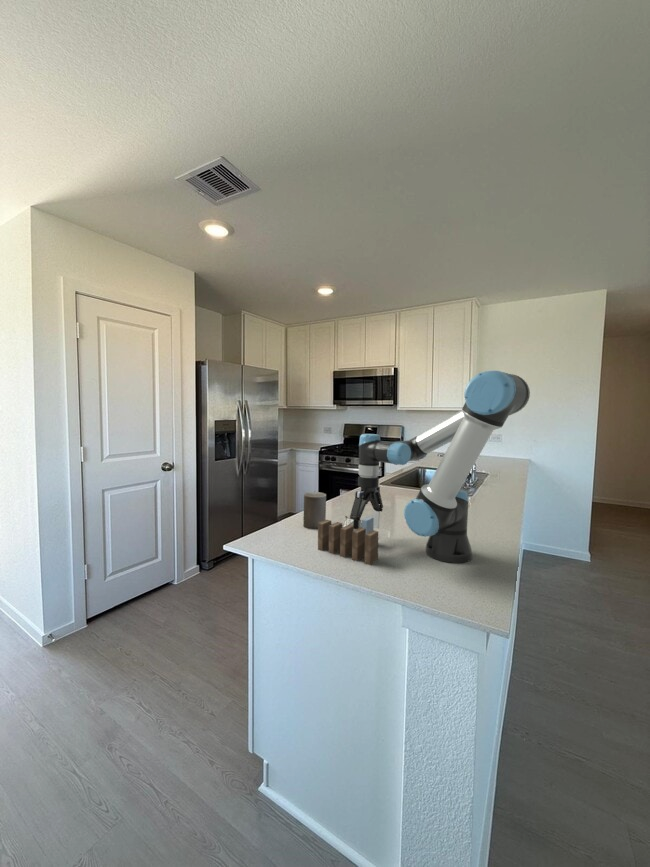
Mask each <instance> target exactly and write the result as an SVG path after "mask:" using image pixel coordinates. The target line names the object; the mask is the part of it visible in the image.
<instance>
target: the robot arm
mask: <svg viewBox="0 0 650 867" xmlns="http://www.w3.org/2000/svg"><path fill="white" fill-rule="evenodd" d="M530 395H531V392H530V388H529V385H528V383H527V382H526V381H525V379H523V378H522V377H520V376H519V375H516V374H513V373H512V374H511V373H508V372H504V371H500V370H487V371H482V372H479V373H478V374H476V375H474V376H473V377H472V378H471V379H470V380H469V381H468V383H467V384H466V386H465V389H464V396H463V397H464V400H465V403H464V404H463V406H462V408H461V409H460V410H458V411H457V412H455V413H454V414H452V415H450V416H448V417H447V418H445V419H443V420H441V421H440V422H439V423H437V424H435V425H433V426H432V427H430V428H428V429H426V430H425V431H423V432H421V433H419V434H417V436H414V437H413V438H411V439H409V440H399V441H398V440H397V441H396V440H395V441H386V440H385V441H384V440H381V436H380V434H375V433H362V434H361V435H360V436H359V443H358V475H359V476H358V477H357V485H358V487H359V488H360V491H357V490H356V491H355V496H354V500H353V504H352V508H351V512H350V515H349V517H350V519H353V520H354V525H353V526H354V530H356V529H358V528H360V527H361V523H362V519H361V517H362V515H363V512H364V510H365V508H366V505H367V504H369V502H370V505H371V507H372V508H373V510H372V516H371V517H373V518H374V526H373V529H377V530H378V529H380V517H381V516H380V515H381V514H380V513H381V512H383V508H384V505H383V500H382V496H381V492H380V491H381V490H380V488H381V487H380V486H379V480H380V478H379V475H380V463H385V464H391V465H394V466H396V465H398V466H399V465H400V466H405V465H407V463H408V462H413V461H420V460H423V459H425V458H426V457H427V455H428V454H431V453H432V452H434V451H436V450H437V449H440V448H441V447H443V446H445V445H447V444H448V443H450V444H449V445H448V447H447V449H446V451H445V453H444V454H443V457H442V459H441V461H440V463H438V466H437V468H436V470H435V471H434V474H433V475H432V477H431V479H430V481H429V483H427V484H424V485H422V486H421V488H420V490H419V492H417V495H416V498H413V499H411V500H410V501H408V502H407V503H406V505H405V508H404V510H403V515H404V516H403V517H404V519H405V523H406V525H407V527H408V528H409V530H411V531H412V533H414V534H415V535H417V536H420V537H428V538H427V542H426V545H425V553H426V555H427V556H429V557H430V558H432V559H434V560H436V561H441V562H445V563H450V564H451V563H452V564H453V563H454V564H455V563H456V564H460V563H467V562H469V561H471V560H472V557H473V551H472V547H471V544H470V540H469V537H468V520H469V519H468V517H469V514H468V513H469V511H468V510H469V503H470V501H469V494H468V492H467V491H466V490H463V489H461V488H462V487H463V485H464V483H465V481H466V479H467V477H468V476H469V474H470V473H471V470H472V469H473V468H474V465H475V463H476V462H477V460H478V459H479V456H480V455H481V453H482V451H483V449H484V448H485V446H486V443H487V442H488V440H489V438H490V437H491V436H492V433H493V432H494V430H498V429H501V428H502V427H503V426H504V424H505V423H506V421H507V419H508V417H509V416H511V415H512V416H513V415H514V414H516V413H518V412H520V411H521V410H522V409H523V408H525V407H526V405H527V404H528V403H529V400H530V397H531V396H530Z"/></svg>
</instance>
